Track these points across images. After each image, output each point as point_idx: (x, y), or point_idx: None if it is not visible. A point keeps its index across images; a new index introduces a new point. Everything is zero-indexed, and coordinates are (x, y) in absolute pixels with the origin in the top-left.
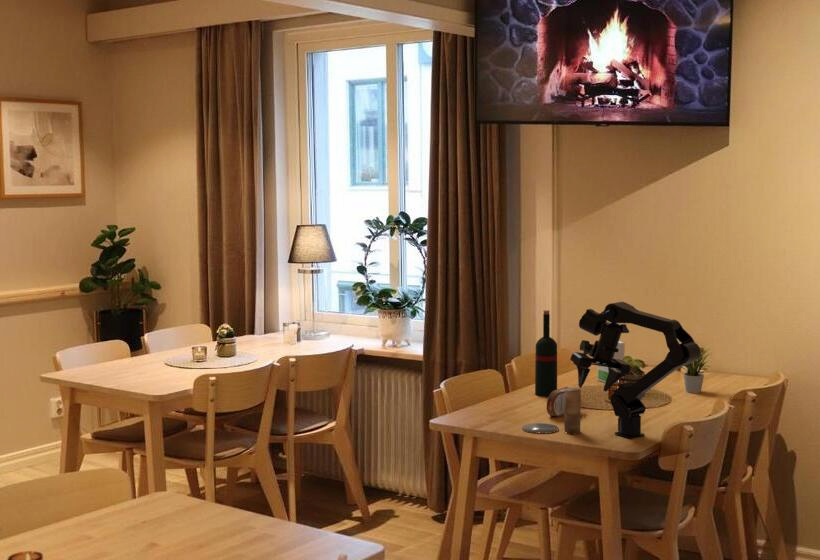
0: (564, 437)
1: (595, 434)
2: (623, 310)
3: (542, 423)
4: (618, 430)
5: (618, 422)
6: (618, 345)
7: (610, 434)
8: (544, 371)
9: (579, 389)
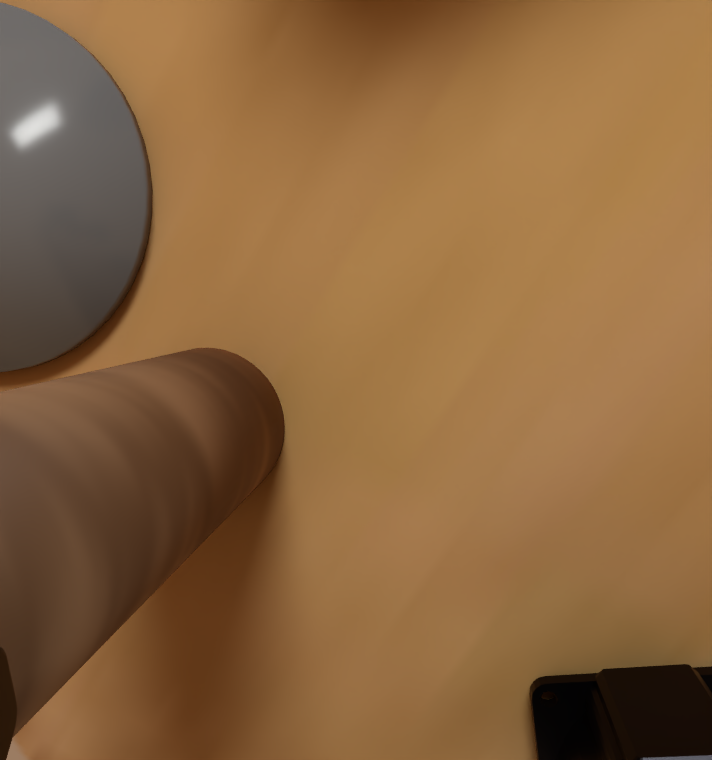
0: None
1: (365, 592)
2: None
3: (61, 39)
4: (596, 686)
5: (617, 739)
6: None
7: (497, 657)
8: None
9: (17, 657)
